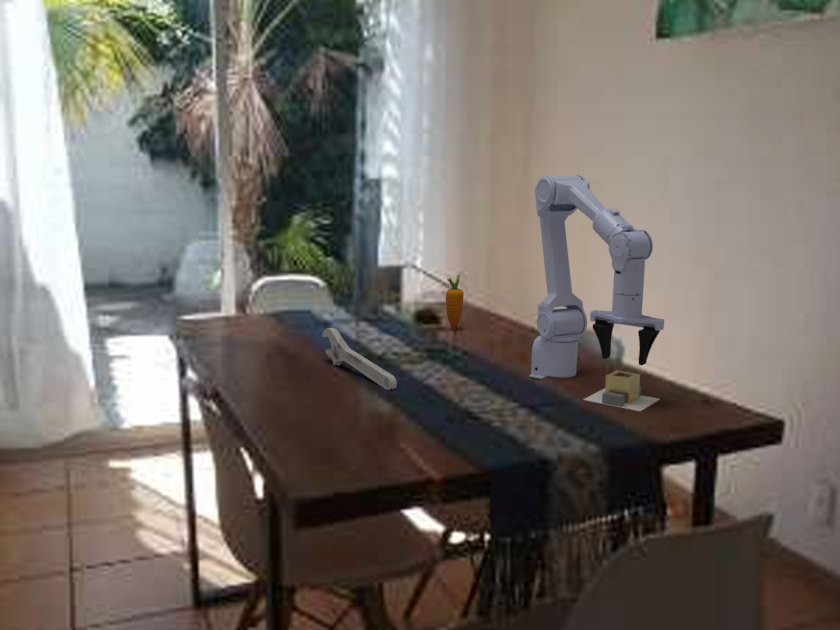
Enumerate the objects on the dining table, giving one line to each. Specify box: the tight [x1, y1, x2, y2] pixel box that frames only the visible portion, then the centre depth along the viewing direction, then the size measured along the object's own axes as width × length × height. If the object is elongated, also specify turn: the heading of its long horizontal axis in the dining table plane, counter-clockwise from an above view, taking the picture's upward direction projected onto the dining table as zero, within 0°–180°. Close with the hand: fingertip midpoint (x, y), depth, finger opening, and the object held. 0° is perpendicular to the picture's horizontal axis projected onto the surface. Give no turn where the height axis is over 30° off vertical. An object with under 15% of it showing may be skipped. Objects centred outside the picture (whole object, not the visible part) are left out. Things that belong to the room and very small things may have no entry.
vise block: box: [583, 376, 661, 412], centre depth 178 cm, size 12×10×6 cm
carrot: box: [445, 274, 464, 331], centre depth 242 cm, size 5×5×15 cm
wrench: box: [321, 327, 398, 391], centre depth 199 cm, size 8×2×30 cm
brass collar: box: [604, 369, 641, 405], centre depth 178 cm, size 5×5×5 cm
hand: (624, 361), depth 177 cm, fingers open, 7 cm apart
